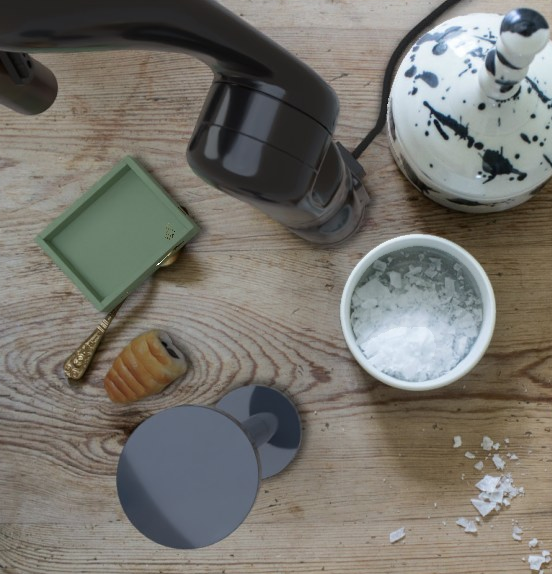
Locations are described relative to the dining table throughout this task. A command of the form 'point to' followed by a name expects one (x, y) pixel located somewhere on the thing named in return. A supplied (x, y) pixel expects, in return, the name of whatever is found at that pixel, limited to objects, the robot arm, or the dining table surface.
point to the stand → (205, 465)
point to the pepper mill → (29, 90)
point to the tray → (116, 234)
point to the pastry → (144, 368)
